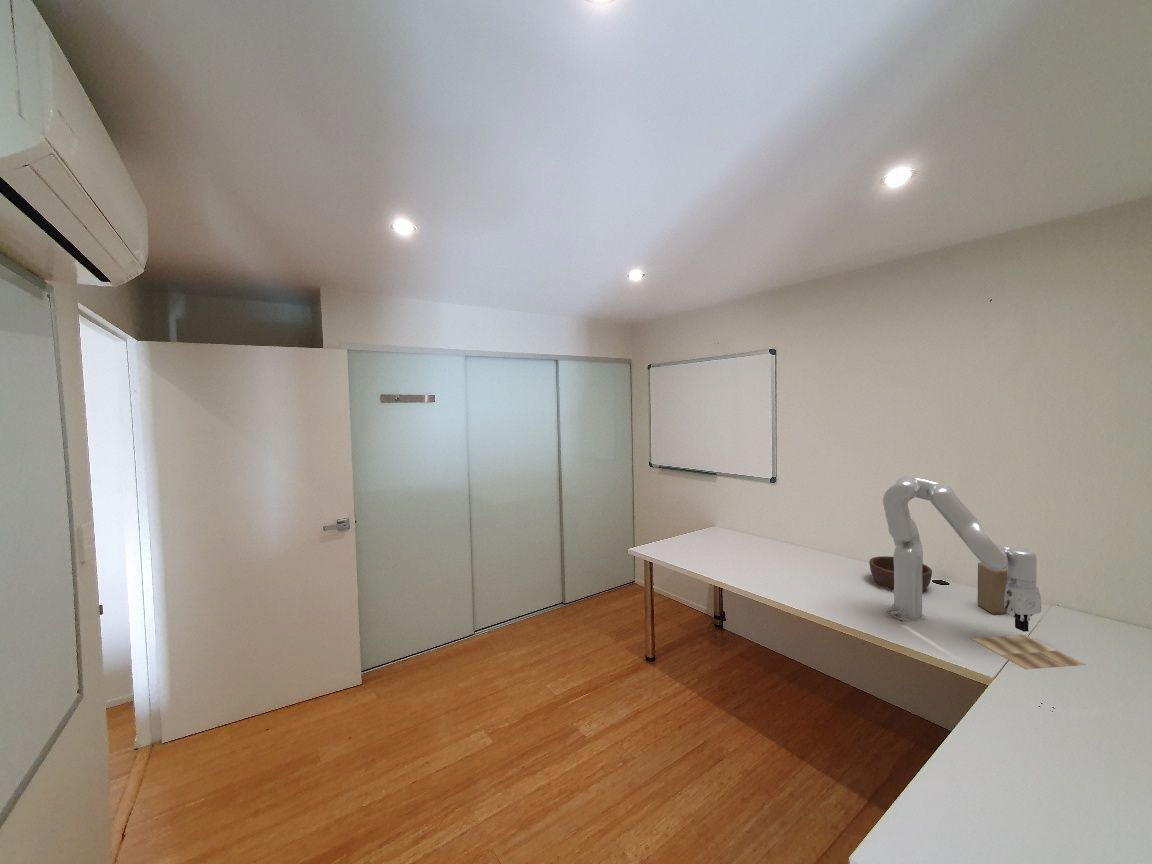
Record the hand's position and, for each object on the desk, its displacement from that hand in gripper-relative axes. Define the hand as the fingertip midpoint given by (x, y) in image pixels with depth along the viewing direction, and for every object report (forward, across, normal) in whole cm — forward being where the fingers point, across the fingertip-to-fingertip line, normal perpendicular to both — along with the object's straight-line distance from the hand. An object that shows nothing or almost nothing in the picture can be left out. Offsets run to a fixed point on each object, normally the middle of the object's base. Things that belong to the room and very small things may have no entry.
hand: (1021, 629), depth 156 cm
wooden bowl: (+5, -2, +53) cm, 54 cm away
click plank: (+5, -6, -2) cm, 9 cm away
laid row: (+6, -6, -12) cm, 14 cm away
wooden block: (+6, +17, +23) cm, 29 cm away
